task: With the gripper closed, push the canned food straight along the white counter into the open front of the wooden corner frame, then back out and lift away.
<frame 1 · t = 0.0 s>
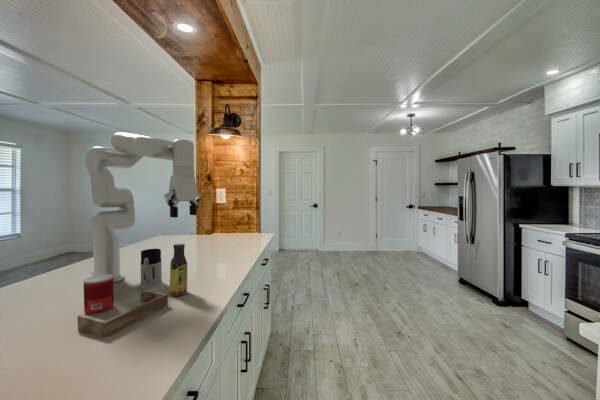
hand: (184, 216, 99), 31 cm above the worktop, tool pointing down, fingers open, 9 cm apart
wooden corner frame: (126, 315, 83), on the worktop
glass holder: (149, 287, 107), on the worktop
canned food: (99, 309, 87), on the worktop
sauce bottle: (178, 294, 101), on the worktop
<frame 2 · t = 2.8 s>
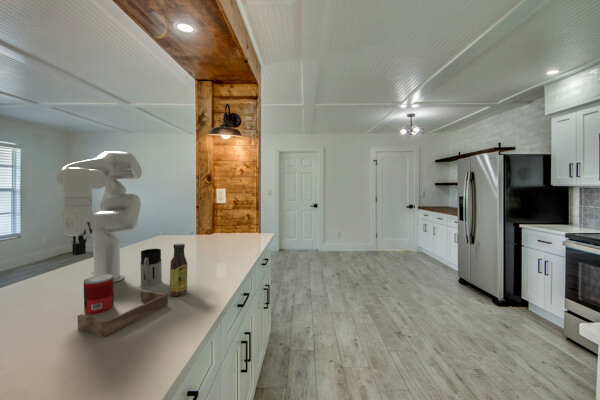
hand: (79, 254, 89), 18 cm above the worktop, tool pointing down, fingers closed
nothing on the worktop moved.
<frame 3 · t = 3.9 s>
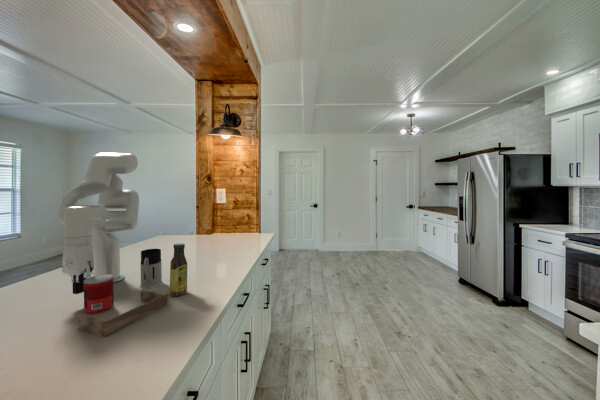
hand: (79, 292, 89), 5 cm above the worktop, tool pointing down, fingers closed
nothing on the worktop moved.
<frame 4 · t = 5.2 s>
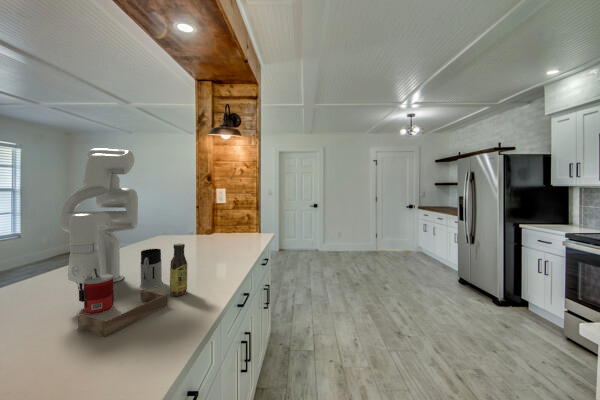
hand: (85, 299, 89), 2 cm above the worktop, tool pointing down, fingers closed
canned food: (99, 309, 87), on the worktop, touching gripper
everything else where it was.
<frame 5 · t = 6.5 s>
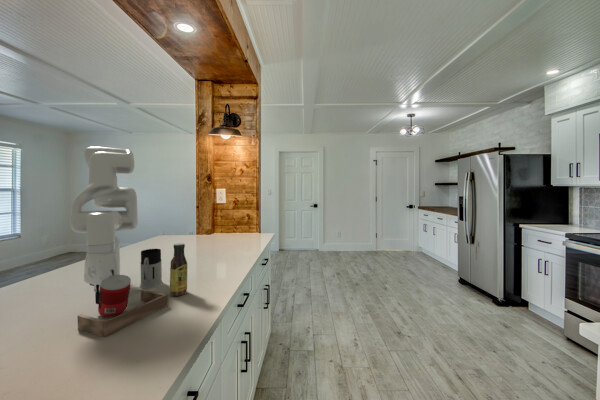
hand: (102, 302, 85), 3 cm above the worktop, tool pointing down, fingers closed
canned food: (112, 310, 84), point 1 cm above the worktop, touching gripper
everything else where it was.
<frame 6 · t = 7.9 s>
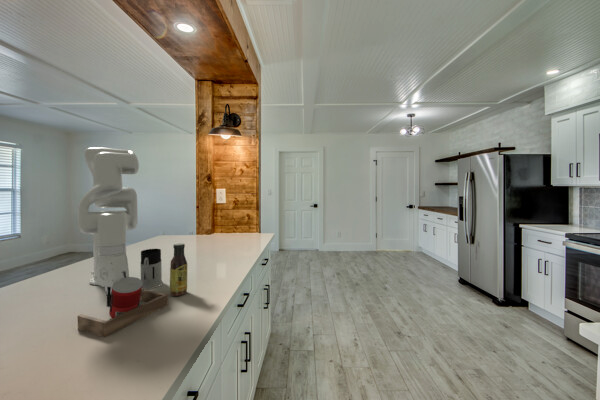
hand: (113, 305, 84), 3 cm above the worktop, tool pointing down, fingers closed
canned food: (124, 313, 82), point 1 cm above the worktop, touching gripper
everything else where it was.
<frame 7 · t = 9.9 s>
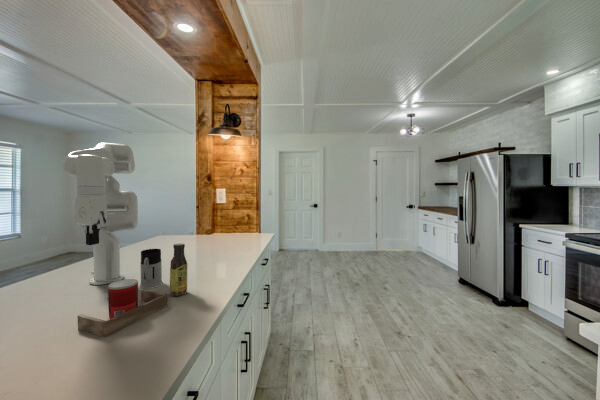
hand: (92, 244, 87), 22 cm above the worktop, tool pointing down, fingers closed
canned food: (124, 316, 82), on the worktop
everything else where it was.
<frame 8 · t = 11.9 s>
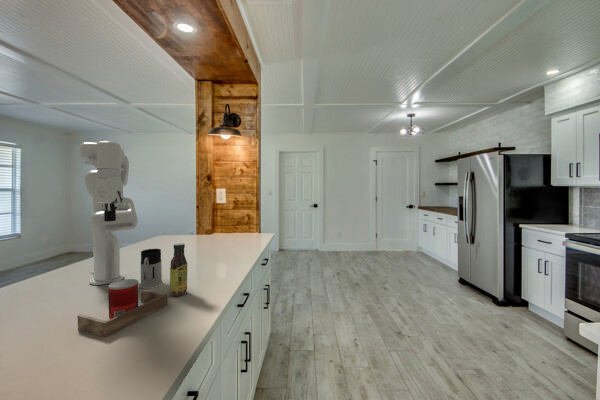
hand: (110, 221, 98), 29 cm above the worktop, tool pointing down, fingers closed
nothing on the worktop moved.
at the end: canned food inside the target area on the wooden corner frame (2.0 cm from its centre), point 0.0 cm above the wooden corner frame's base; canned food tilted 0° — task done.
